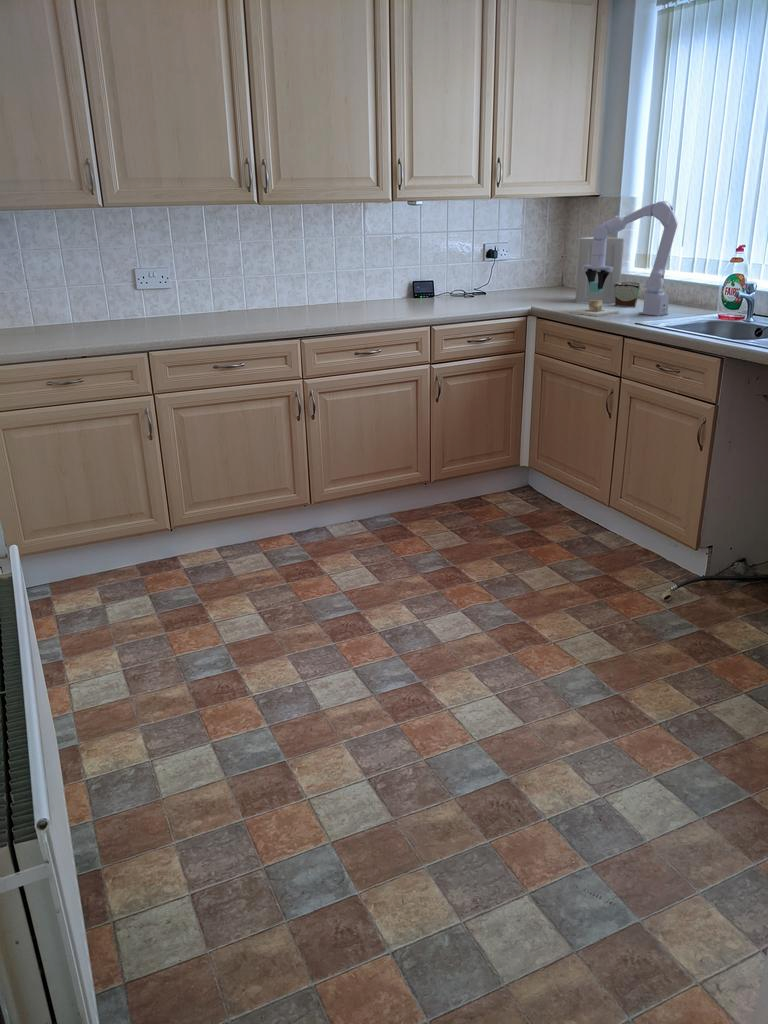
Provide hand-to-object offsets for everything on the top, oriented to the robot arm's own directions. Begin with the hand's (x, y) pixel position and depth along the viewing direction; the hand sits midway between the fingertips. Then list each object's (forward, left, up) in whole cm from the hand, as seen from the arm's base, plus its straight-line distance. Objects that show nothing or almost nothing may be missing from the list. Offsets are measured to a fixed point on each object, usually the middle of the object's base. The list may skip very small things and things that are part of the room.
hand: (595, 288), depth 355 cm
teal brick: (0, 0, -1) cm, 1 cm away
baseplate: (-5, +6, -9) cm, 12 cm away
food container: (0, -24, -10) cm, 26 cm away
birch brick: (-5, +5, -8) cm, 11 cm away
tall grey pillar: (+19, -26, -10) cm, 34 cm away
